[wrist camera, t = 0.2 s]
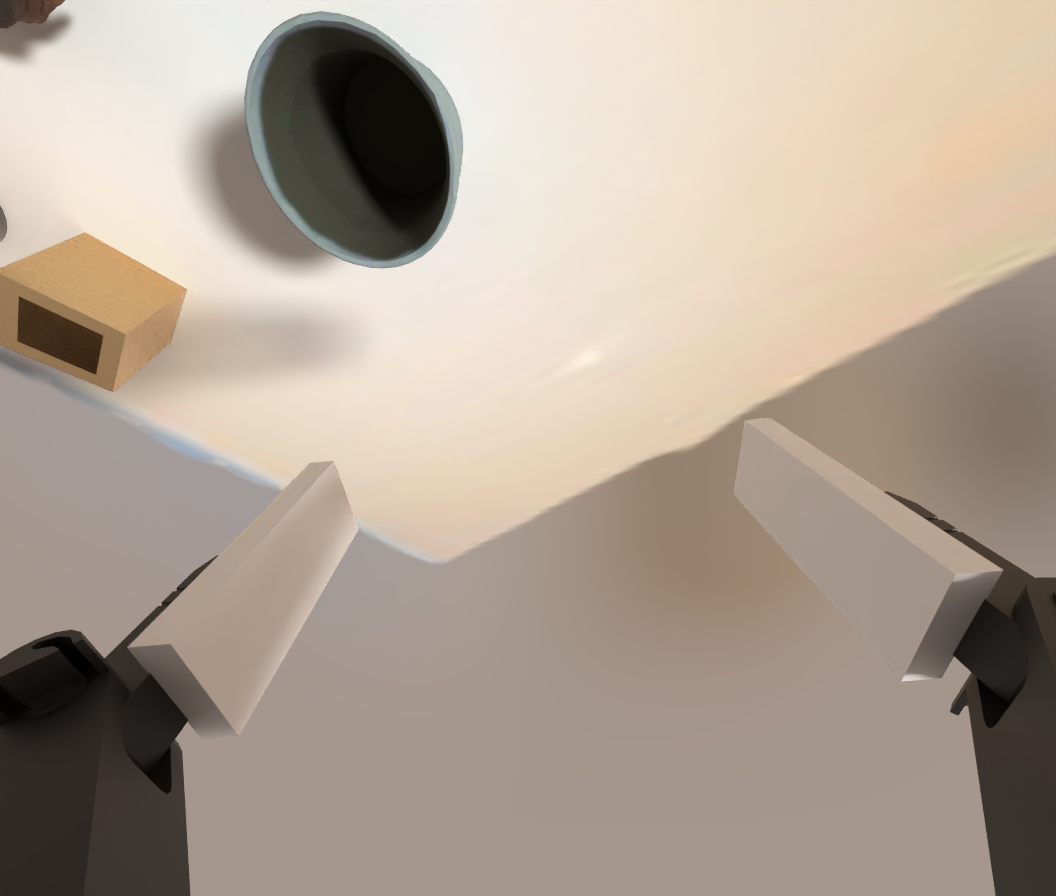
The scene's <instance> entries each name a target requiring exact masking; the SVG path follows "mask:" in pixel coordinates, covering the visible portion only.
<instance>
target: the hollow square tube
mask: <svg viewBox="0 0 1056 896" xmlns="http://www.w3.org/2000/svg"><path fill="white" fill-rule="evenodd" d="M186 291H187V289H185V288H183V287H182V286H180V285H178V284H176V283H174V282H173V281H171V280H169V279H167V278H166V277H164V276H162V275H160V274H158V273H157V272H155V271H153V270H151V269H149V268H148V267H146V266H144V265H142V264H140V263H139V262H137V261H135V260H133V259H132V258H130V257H128V256H126V255H124V254H123V253H121V252H119V251H117V250H115V249H114V248H112V247H110V246H108V245H106V244H105V243H103V242H101V241H99V240H98V239H96V238H94V237H92V236H90V235H89V234H87V233H83V234H81V235H78V236H76V237H74V238H71V239H69V240H67V241H64V242H62V243H59V244H57V245H55V246H52V247H50V248H48V249H45V250H43V251H40V252H38V253H36V254H33V255H31V256H28V257H26V258H24V259H21V260H19V261H17V262H14V263H12V264H9V265H7V266H5V267H2V268H0V345H1V346H3V347H6V348H8V349H11V350H13V351H15V352H18V353H20V354H23V355H25V356H27V357H30V358H32V359H35V360H37V361H40V362H42V363H44V364H47V365H49V366H52V367H54V368H56V369H59V370H61V371H64V372H66V373H68V374H71V375H73V376H76V377H78V378H80V379H83V380H85V381H88V382H90V383H92V384H95V385H97V386H100V387H102V388H104V389H107V390H109V391H112V392H113V391H114V390H116V389H117V388H118V387H119V386H120V385H121V384H123V383H124V382H125V381H126V380H127V379H128V378H130V377H131V376H132V375H133V374H134V373H135V372H137V371H138V370H139V369H140V368H141V367H142V366H144V365H145V364H146V363H147V362H148V361H149V360H151V359H152V358H153V357H154V356H155V355H156V354H158V353H159V352H160V351H161V350H162V349H163V348H165V347H166V346H167V345H168V344H169V343H170V341H171V338H172V335H173V332H174V329H175V326H176V322H177V319H178V316H179V313H180V310H181V307H182V304H183V300H184V297H185V294H186Z"/></svg>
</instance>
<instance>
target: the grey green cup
mask: <svg viewBox="0 0 1056 896" xmlns="http://www.w3.org/2000/svg"><path fill="white" fill-rule="evenodd" d="M244 99H245V120H246V124H247V129H248V134H249V139H250V143H251V148H252V153H253V157H254V159H255V162H256V164H257V167H258V169H259V171H260V174H261V176H262V178H263V181H264V183H265V185H266V187H267V188H268V190H269V192H270V193H271V195H272V197H273V198H274V200H275V202H276V203H277V204H278V206H279V207H280V208H281V210H282V211H283V212H284V214H285V215H286V216H287V218H288V219H289V220H290V221H291V222H292V223H293V224H294V225H295V226H296V228H297V229H298V230H300V231H301V232H302V233H303V234H304V235H305V236H306V237H308V238H309V239H310V240H311V241H312V242H313V243H315V244H316V245H318V246H319V247H320V248H322V249H324V250H325V251H327V252H328V253H330V254H332V255H334V256H336V257H338V258H340V259H342V260H345V261H347V262H350V263H353V264H357V265H361V266H366V267H371V268H391V267H398V266H402V265H405V264H408V263H410V262H412V261H414V260H416V259H418V258H420V257H422V256H423V255H424V254H426V253H427V252H428V251H429V250H431V249H432V248H433V247H434V245H435V244H436V243H437V242H438V241H439V239H440V238H441V236H442V235H443V234H444V232H445V231H446V228H447V226H448V224H449V222H450V219H451V217H452V215H453V211H454V208H455V204H456V198H457V191H458V185H459V176H460V171H461V163H462V153H463V134H462V129H461V123H460V119H459V116H458V112H457V110H456V107H455V104H454V102H453V100H452V98H451V96H450V94H449V93H448V91H447V89H446V88H445V86H444V85H443V84H442V82H441V81H440V80H439V78H438V77H437V76H436V75H435V74H434V73H433V72H432V71H431V70H430V69H429V68H427V67H426V66H425V65H424V64H422V63H421V62H419V61H418V60H416V59H414V58H413V57H411V56H410V54H409V53H407V52H406V51H405V50H404V49H403V48H402V47H400V46H399V45H398V44H397V43H396V42H395V41H393V40H392V39H391V38H390V37H388V36H387V35H385V34H384V33H382V32H381V31H379V30H378V29H376V28H375V27H373V26H371V25H369V24H367V23H365V22H363V21H360V20H358V19H355V18H353V17H349V16H346V15H342V14H337V13H330V12H322V11H321V12H314V13H307V14H300V15H298V16H296V17H293V18H291V19H289V20H287V21H285V22H283V23H282V24H280V25H279V26H278V27H276V28H275V29H273V31H272V32H271V33H270V34H269V35H268V36H267V38H266V39H265V40H264V41H263V42H262V44H261V46H260V47H259V49H258V51H257V53H256V55H255V57H254V59H253V61H252V64H251V66H250V69H249V71H248V77H247V84H246V91H245V98H244Z"/></svg>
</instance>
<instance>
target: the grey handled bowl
mask: <svg viewBox="0 0 1056 896" xmlns="http://www.w3.org/2000/svg"><path fill="white" fill-rule="evenodd" d="M6 231H7V224H6V219H5V215H4V213H3V211H2V208H1V207H0V241H2V239H3V238H4V237H5V235H6Z"/></svg>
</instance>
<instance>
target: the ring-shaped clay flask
mask: <svg viewBox="0 0 1056 896" xmlns="http://www.w3.org/2000/svg"><path fill="white" fill-rule="evenodd" d="M64 1H65V0H0V28H6V29H7V28H9V27H10V26H12V25H14V24H15V23H16V22H17V21H22V22H26V23H34V22H36V23H43V22H45V21H46V20H47V18H48V15H49V14H50V13H51V12H52V11H53V10H54V9H55V8H56V7H57V6H59V5H61V4H62V3H63V2H64Z"/></svg>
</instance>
